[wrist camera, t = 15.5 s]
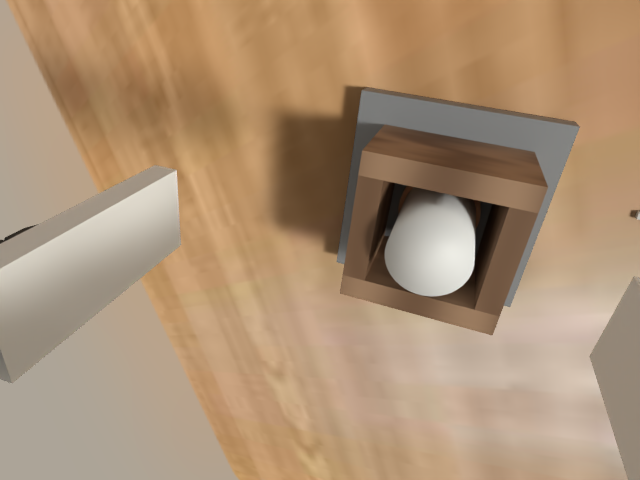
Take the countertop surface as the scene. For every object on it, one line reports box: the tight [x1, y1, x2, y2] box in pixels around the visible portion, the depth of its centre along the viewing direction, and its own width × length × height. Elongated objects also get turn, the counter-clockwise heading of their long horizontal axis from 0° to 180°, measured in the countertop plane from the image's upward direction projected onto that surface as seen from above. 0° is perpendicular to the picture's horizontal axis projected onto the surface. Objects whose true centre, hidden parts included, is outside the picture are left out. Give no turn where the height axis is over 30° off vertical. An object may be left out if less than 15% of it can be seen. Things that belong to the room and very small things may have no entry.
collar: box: [340, 125, 548, 335], centre depth 30 cm, size 10×10×7 cm
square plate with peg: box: [337, 87, 580, 307], centre depth 30 cm, size 14×14×10 cm
